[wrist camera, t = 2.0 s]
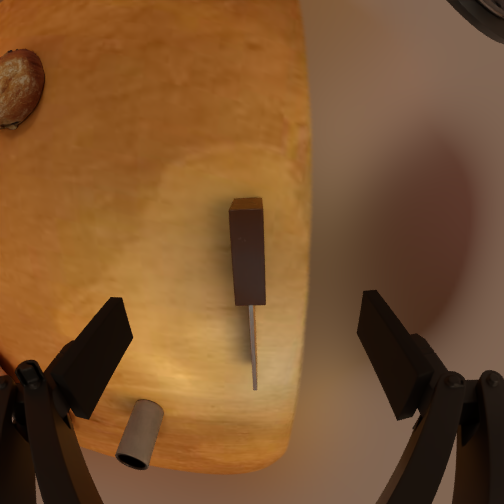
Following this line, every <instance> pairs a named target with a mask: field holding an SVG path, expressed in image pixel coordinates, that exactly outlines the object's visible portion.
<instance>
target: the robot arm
mask: <svg viewBox="0 0 504 504" xmlns="http://www.w3.org/2000/svg"><path fill="white" fill-rule="evenodd" d="M475 1H476V2H477V3H478V4H479V5H480V6H482V7H483V8H484V9H485V10H487V11H488V12H489V13H491V14H492V15H494V16H495V17H497V18H500V19H503V20H504V0H475ZM357 335H358V337H359V339H360V341H361V343H362V345H363V347H364V349H365V351H366V353H367V355H368V357H369V359H370V361H371V363H372V366H373V368H374V370H375V372H376V374H377V376H378V378H379V381H380V383H381V385H382V387H383V389H384V391H385V393H386V396H387V398H388V400H389V403H390V405H391V407H392V409H393V412H394V414H395V416H396V419H397V421H398V420H402V419H406V418H409V417H412V416H413V415H414V413H415V411H416V409H417V408H418V410H419V412H420V416H419V418H418V420H417V422H416V423H415V425H414V427H413V429H414V430H413V432H412V435H411V437H410V439H409V442H408V444H407V446H406V448H405V450H404V452H403V455H402V457H401V459H400V461H399V463H398V465H397V467H396V469H395V471H394V473H393V475H392V476H391V478H390V480H389V482H388V484H387V485H386V487H385V489H384V491H383V493H382V494H381V496H380V497H379V499H378V501H377V502H376V504H432V501H433V499H434V497H435V495H436V492H437V490H438V487H439V484H440V482H441V479H442V477H443V474H444V471H445V469H446V465H447V463H448V460H449V457H450V454H451V450H452V447H453V443H454V440H455V436H456V433H457V452H456V471H455V483H454V492H453V500H452V504H504V379H503V377H502V376H501V375H500V374H499V373H498V372H496V371H492V370H487V371H485V372H483V373H482V375H481V377H480V379H479V380H465V379H464V377H463V376H462V375H461V374H459V373H456V372H453V371H448V370H447V368H446V367H445V366H444V364H443V363H442V361H441V360H440V359H439V357H438V356H437V355H436V353H434V350H433V349H432V348H431V347H430V345H429V344H428V343H427V341H426V340H425V339H424V338H423V337H421V336H420V335H418V334H411V335H410V334H409V333H408V332H407V330H406V329H405V327H404V326H403V325H402V323H401V322H400V320H399V319H398V318H397V316H396V315H395V314H394V313H393V311H392V310H391V309H390V307H389V306H388V305H387V303H386V302H385V301H384V299H383V298H382V297H381V296H380V294H379V293H378V292H377V290H370V291H363V298H362V304H361V311H360V317H359V323H358V329H357ZM132 339H133V335H132V332H131V328H130V325H129V321H128V318H127V314H126V311H125V307H124V303H123V299H122V298H121V297H110V299H109V300H108V301H107V302H106V303H105V304H104V306H103V307H102V308H101V309H100V310H99V311H98V313H97V314H96V315H95V316H94V317H93V319H92V320H91V321H90V322H89V323H88V325H87V326H86V327H85V328H84V329H83V331H82V332H81V333H80V334H79V336H78V337H77V338H76V339H75V341H74V340H72V341H70V342H69V343H68V344H66V345H65V346H64V347H63V348H62V350H61V351H60V353H58V355H57V356H56V358H54V360H53V361H52V362H51V363H50V365H49V366H48V367H47V369H46V370H45V371H44V373H43V372H42V370H41V368H40V366H39V364H38V362H36V361H35V360H26V361H24V362H22V363H21V364H19V365H18V367H17V368H16V370H15V374H16V376H17V377H18V379H19V381H20V382H21V383H15V382H14V380H13V379H12V377H11V376H9V375H3V376H0V504H36V490H35V489H36V486H35V473H36V478H37V481H38V485H39V489H40V492H41V496H42V499H43V502H44V504H104V503H103V501H102V500H101V497H100V495H99V493H98V491H97V489H96V487H95V484H94V482H93V480H92V477H91V475H90V473H89V470H88V468H87V466H86V463H85V460H84V458H83V455H82V452H81V449H80V446H79V444H78V441H77V438H76V434H75V431H74V428H73V425H72V421H71V418H70V416H69V415H68V411H69V410H70V408H71V410H72V411H73V413H74V414H75V416H77V417H80V418H84V419H88V420H89V418H90V416H91V414H92V412H93V411H94V409H95V407H96V405H97V403H98V401H99V399H100V397H101V395H102V393H103V391H104V389H105V388H106V386H107V384H108V382H109V380H110V378H111V376H112V375H113V373H114V371H115V369H116V367H117V365H118V364H119V362H120V360H121V358H122V357H123V355H124V353H125V351H126V349H127V348H128V346H129V344H130V342H131V341H132ZM12 417H13V418H14V420H13V423H12Z"/></svg>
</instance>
